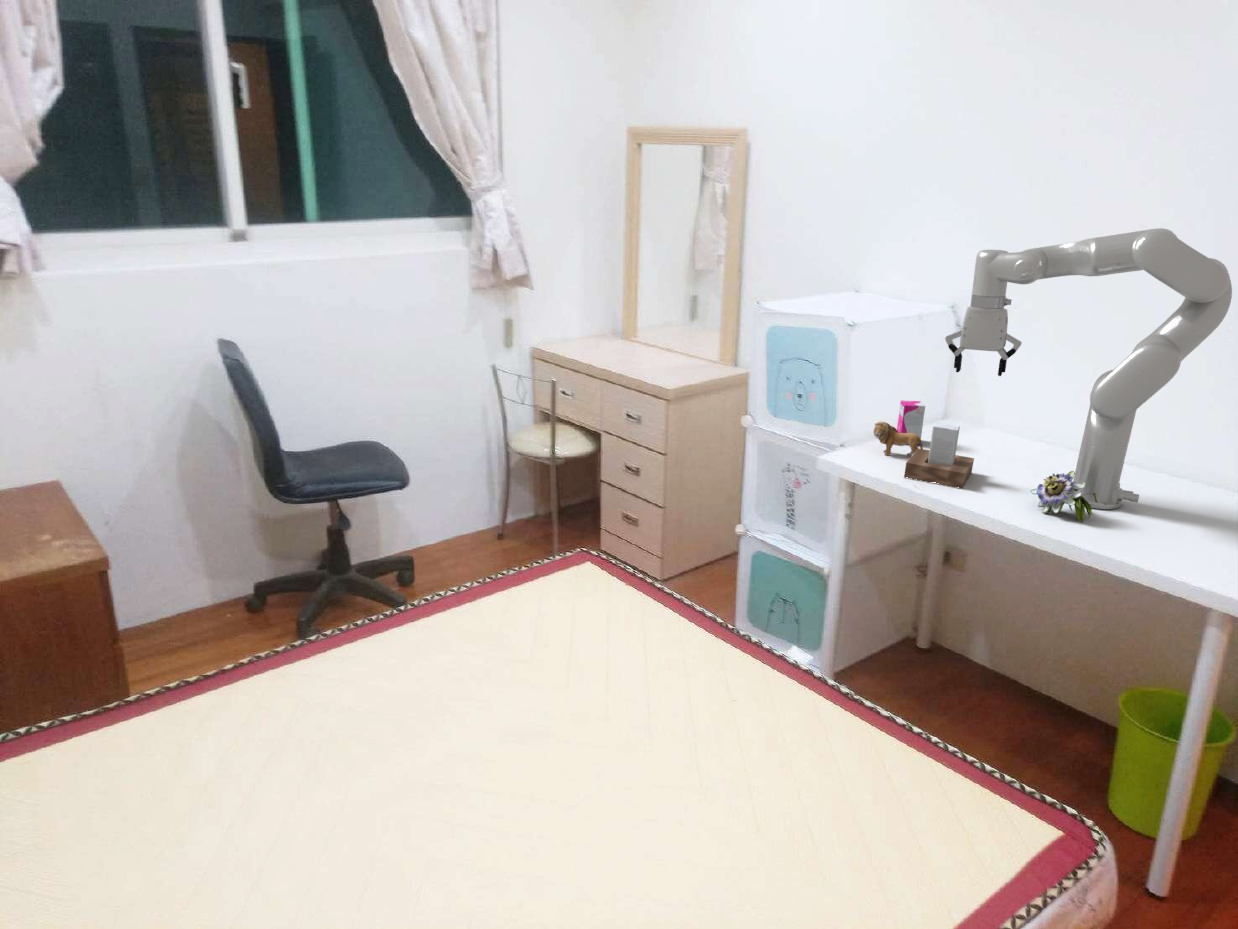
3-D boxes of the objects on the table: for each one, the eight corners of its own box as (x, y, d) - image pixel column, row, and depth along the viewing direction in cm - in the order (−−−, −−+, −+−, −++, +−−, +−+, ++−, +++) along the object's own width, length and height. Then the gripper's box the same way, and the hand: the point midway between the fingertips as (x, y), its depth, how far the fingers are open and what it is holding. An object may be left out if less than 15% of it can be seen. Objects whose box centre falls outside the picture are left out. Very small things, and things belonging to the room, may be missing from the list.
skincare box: (953, 471, 228) (960, 426, 224) (950, 476, 224) (958, 430, 220) (928, 467, 231) (935, 422, 227) (925, 471, 227) (932, 426, 223)
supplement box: (915, 439, 257) (921, 400, 253) (920, 445, 251) (926, 406, 248) (895, 438, 257) (900, 399, 254) (899, 444, 252) (904, 404, 248)
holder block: (971, 473, 230) (974, 458, 229) (962, 488, 219) (965, 473, 217) (915, 462, 237) (917, 448, 235) (904, 477, 225) (906, 462, 224)
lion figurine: (870, 455, 241) (874, 423, 238) (870, 449, 246) (874, 418, 243) (927, 462, 238) (932, 429, 235) (926, 456, 243) (931, 424, 240)
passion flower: (1041, 535, 207) (1018, 487, 209) (1072, 519, 212) (1049, 473, 213) (1080, 525, 197) (1056, 475, 198) (1112, 508, 201) (1088, 460, 203)
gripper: (1028, 303, 214) (1018, 373, 220) (951, 298, 222) (944, 367, 227) (1025, 307, 208) (1015, 379, 213) (947, 302, 216) (939, 372, 221)
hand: (978, 373), depth 220 cm, fingers open, 9 cm apart
